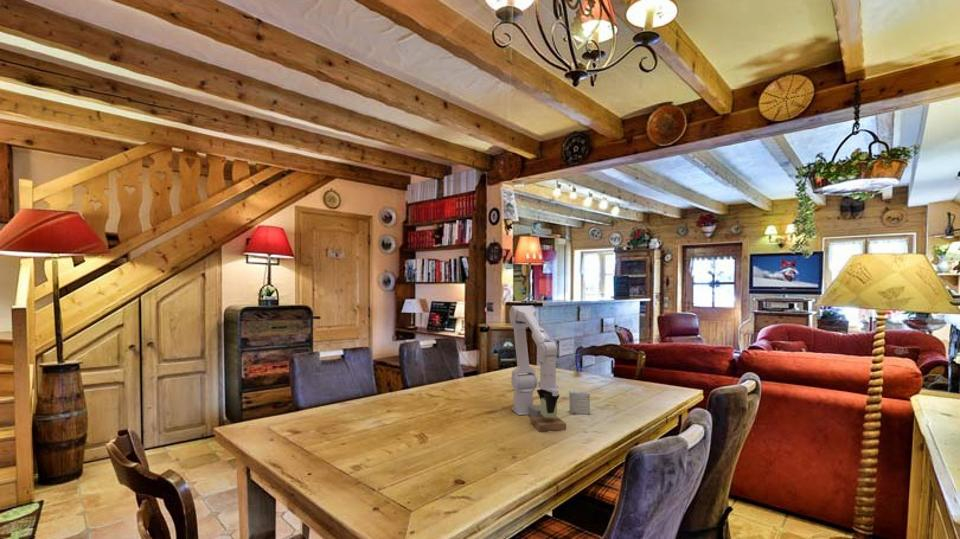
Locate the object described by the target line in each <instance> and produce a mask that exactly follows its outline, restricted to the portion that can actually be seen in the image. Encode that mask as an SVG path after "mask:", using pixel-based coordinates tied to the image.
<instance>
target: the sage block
mask: <svg viewBox="0 0 960 539" xmlns="http://www.w3.org/2000/svg"><path fill="white" fill-rule="evenodd" d="M540 405H541V415H543V416H544V417H558V416H557V414H558V401H557V402H556V405H555V409H554V413H548V412H547V405H546V400H545V398H541V401H540Z"/></svg>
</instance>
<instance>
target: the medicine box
mask: <svg viewBox="0 0 960 539" xmlns="http://www.w3.org/2000/svg"><path fill="white" fill-rule="evenodd" d="M568 393H569V394H568V395H569V413H573V414H572V415H591V407H590V406H591V403H590V402H591V401H590V400H591V394H590V392H589V391H588V390H569V392H568ZM574 413H575V414H574Z"/></svg>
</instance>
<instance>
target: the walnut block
mask: <svg viewBox="0 0 960 539" xmlns="http://www.w3.org/2000/svg"><path fill="white" fill-rule="evenodd" d="M531 424H532V425H533V426H534V427H533V426H532V425H531ZM530 425H531V426H532V427H533V428H535V430H537V431H538V432H539V433H540V432H541V433H549V432H548V431H554V432H562V431H561V430H566V431H567V423H566V422H565V421H563V420H562V419H561V418H559V417H558V416H557V417H544V416H539V417H530Z"/></svg>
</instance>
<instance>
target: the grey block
mask: <svg viewBox="0 0 960 539" xmlns="http://www.w3.org/2000/svg"><path fill="white" fill-rule="evenodd" d="M539 416H543V415H541V404H540V405H533V406H529V414H528V417H530V418H531V417H539Z"/></svg>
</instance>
